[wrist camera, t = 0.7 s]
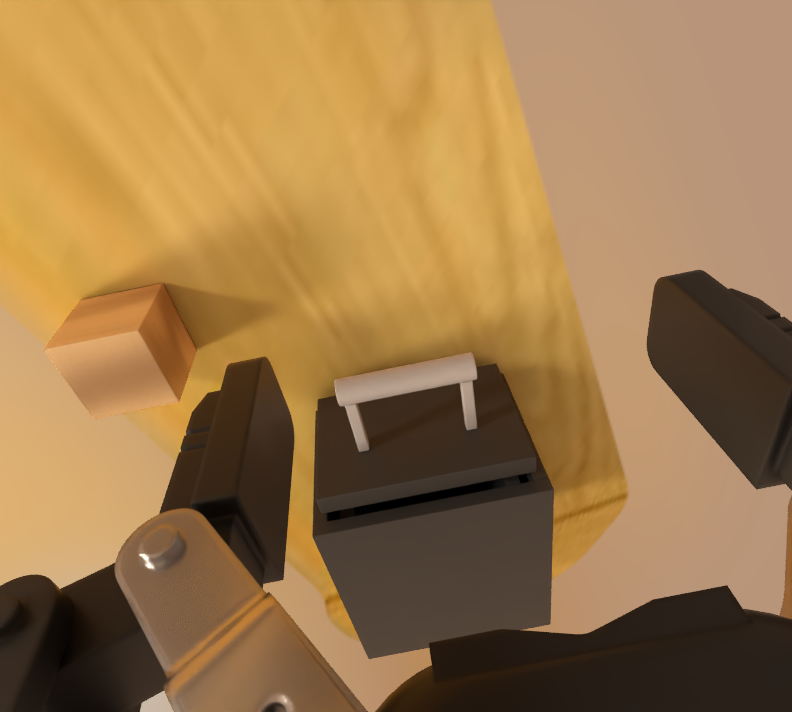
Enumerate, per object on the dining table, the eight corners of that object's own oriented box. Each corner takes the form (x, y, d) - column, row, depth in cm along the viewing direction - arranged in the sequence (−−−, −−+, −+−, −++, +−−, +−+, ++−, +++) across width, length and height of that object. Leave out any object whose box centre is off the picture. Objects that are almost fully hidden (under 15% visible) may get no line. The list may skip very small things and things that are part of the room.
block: (79, 299, 28) (42, 349, 24) (163, 282, 28) (138, 330, 24) (121, 365, 31) (93, 419, 27) (197, 350, 31) (179, 402, 27)
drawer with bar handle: (295, 335, 30) (287, 433, 23) (492, 296, 30) (536, 383, 23) (361, 525, 41) (368, 625, 35) (505, 496, 41) (537, 592, 34)
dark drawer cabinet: (315, 410, 34) (312, 537, 27) (503, 373, 34) (554, 489, 27) (361, 537, 43) (368, 659, 36) (510, 507, 43) (550, 624, 35)
